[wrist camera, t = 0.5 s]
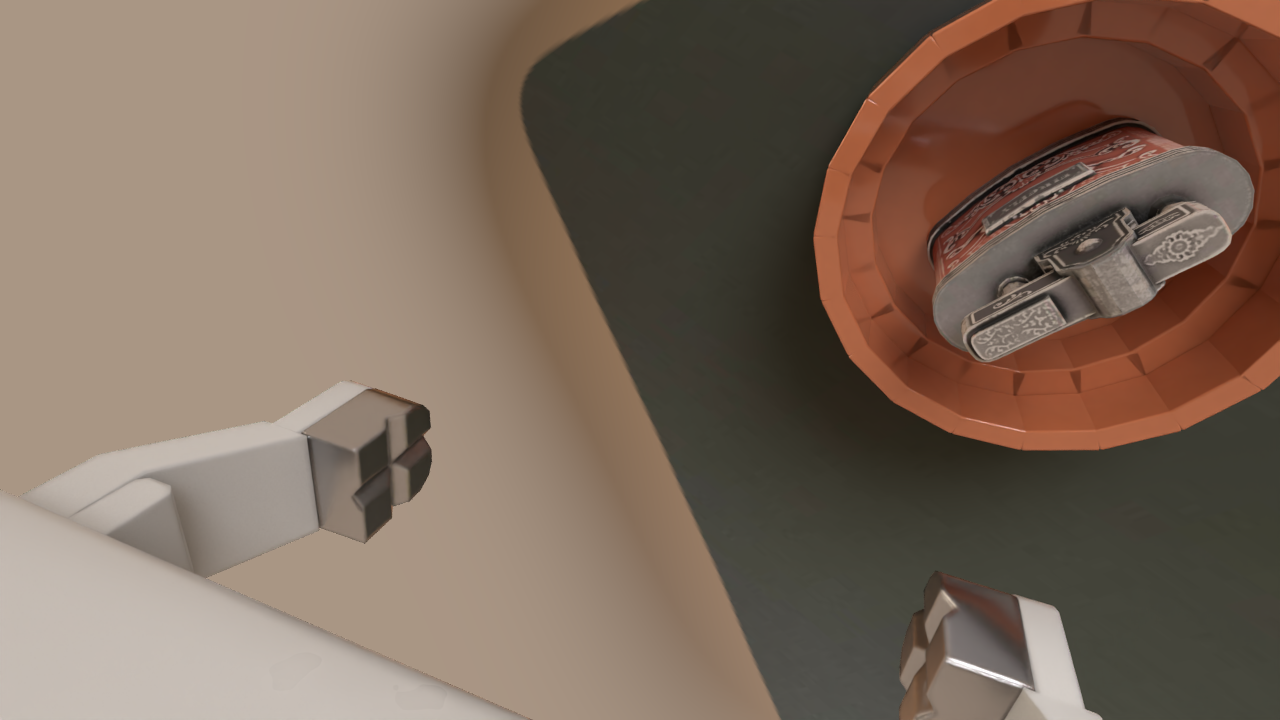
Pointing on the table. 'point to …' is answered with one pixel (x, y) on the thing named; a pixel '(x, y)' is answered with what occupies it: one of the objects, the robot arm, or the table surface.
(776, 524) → the table surface
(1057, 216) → the lighter
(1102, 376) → the bowl
